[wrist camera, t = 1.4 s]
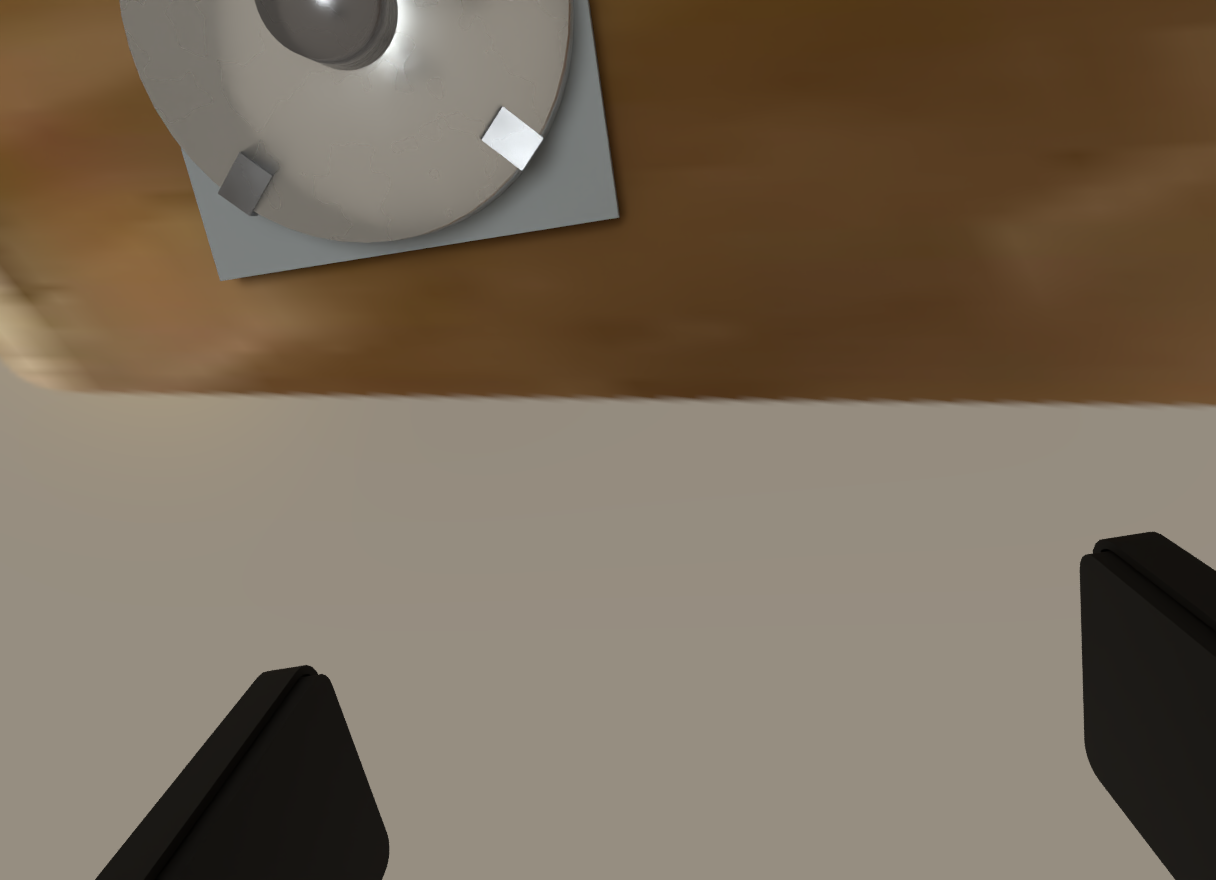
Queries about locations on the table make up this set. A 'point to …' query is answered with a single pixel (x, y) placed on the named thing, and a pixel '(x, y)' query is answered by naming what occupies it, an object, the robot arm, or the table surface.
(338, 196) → the round tabbed tray
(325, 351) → the table surface
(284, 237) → the base plate
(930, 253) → the table surface
